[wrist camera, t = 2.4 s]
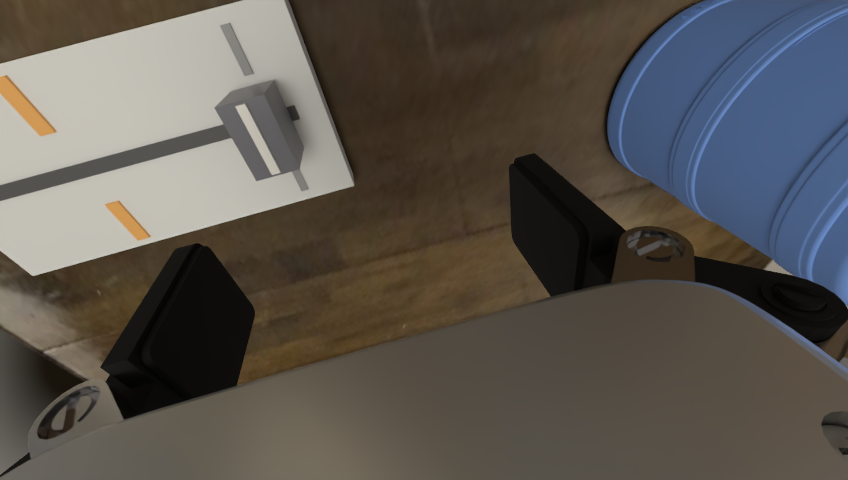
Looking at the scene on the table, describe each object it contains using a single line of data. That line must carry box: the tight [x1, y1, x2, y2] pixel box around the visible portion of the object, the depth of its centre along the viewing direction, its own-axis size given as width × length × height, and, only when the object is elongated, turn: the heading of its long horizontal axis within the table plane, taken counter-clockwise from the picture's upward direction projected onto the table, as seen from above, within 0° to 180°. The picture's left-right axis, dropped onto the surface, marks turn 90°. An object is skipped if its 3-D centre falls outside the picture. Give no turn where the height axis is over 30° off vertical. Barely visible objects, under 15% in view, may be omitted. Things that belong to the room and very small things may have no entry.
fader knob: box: [214, 80, 304, 181], centre depth 23 cm, size 3×5×4 cm, turn 12°
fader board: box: [0, 0, 354, 276], centre depth 26 cm, size 28×14×2 cm, turn 102°
